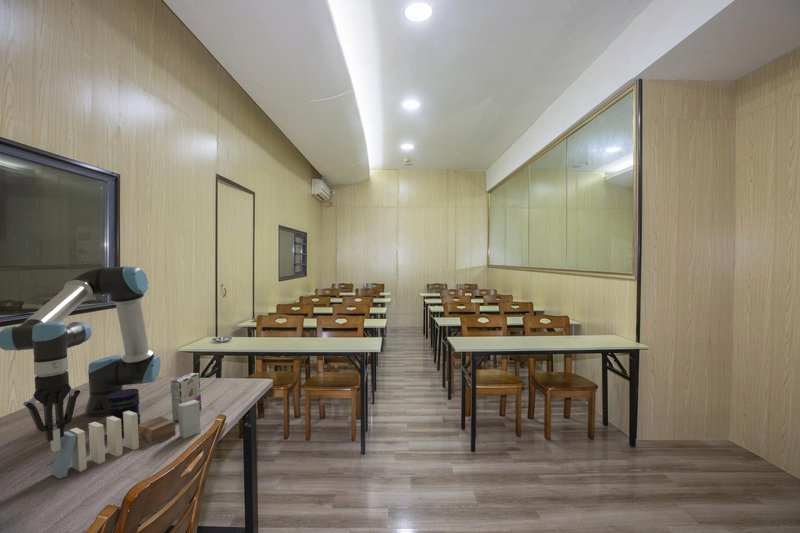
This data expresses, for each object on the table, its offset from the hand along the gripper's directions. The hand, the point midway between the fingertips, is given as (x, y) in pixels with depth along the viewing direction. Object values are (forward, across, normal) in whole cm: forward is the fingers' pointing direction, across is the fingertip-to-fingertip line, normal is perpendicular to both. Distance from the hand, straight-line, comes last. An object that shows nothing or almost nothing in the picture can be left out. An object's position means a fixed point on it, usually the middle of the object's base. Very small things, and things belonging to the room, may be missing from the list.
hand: (55, 449), depth 115 cm
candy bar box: (+9, +45, +9) cm, 47 cm away
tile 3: (+8, +15, 0) cm, 17 cm away
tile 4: (+8, +20, 0) cm, 22 cm away
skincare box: (+9, +35, -10) cm, 38 cm away
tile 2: (+8, +10, 0) cm, 13 cm away
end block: (+8, +29, 0) cm, 30 cm away
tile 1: (+8, +5, 0) cm, 10 cm away
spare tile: (+8, 0, 0) cm, 8 cm away
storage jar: (+9, +25, +16) cm, 31 cm away
